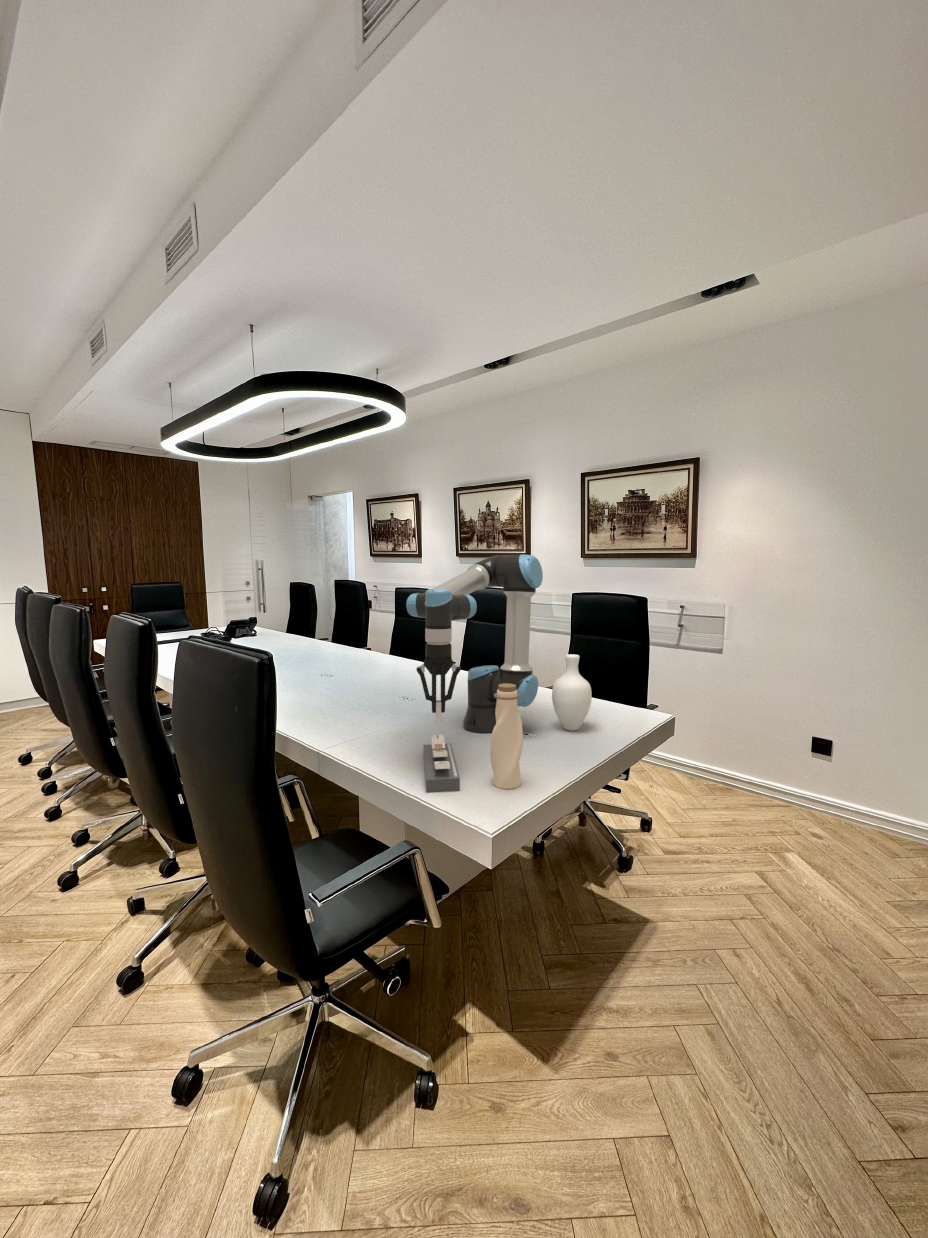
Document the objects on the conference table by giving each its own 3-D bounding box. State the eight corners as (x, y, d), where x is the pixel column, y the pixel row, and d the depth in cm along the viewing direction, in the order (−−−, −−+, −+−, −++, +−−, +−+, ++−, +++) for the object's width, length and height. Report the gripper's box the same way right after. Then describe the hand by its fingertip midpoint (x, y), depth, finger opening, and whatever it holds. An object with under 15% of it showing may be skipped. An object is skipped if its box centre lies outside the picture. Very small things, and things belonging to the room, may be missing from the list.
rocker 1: (443, 738, 167) (443, 734, 167) (445, 751, 161) (445, 747, 160) (431, 739, 167) (431, 735, 166) (432, 752, 160) (432, 748, 160)
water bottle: (487, 775, 152) (487, 681, 149) (518, 774, 153) (518, 680, 150) (492, 790, 142) (492, 689, 139) (525, 789, 143) (526, 688, 140)
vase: (585, 723, 202) (586, 651, 199) (595, 735, 187) (597, 658, 184) (548, 724, 201) (549, 652, 198) (555, 736, 187) (556, 658, 184)
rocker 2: (445, 754, 158) (445, 749, 158) (447, 756, 151) (447, 751, 152) (432, 755, 158) (432, 750, 158) (433, 757, 151) (433, 751, 151)
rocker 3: (448, 766, 149) (447, 760, 150) (450, 768, 142) (449, 762, 143) (434, 766, 149) (434, 761, 149) (435, 769, 142) (435, 763, 142)
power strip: (449, 745, 178) (448, 734, 178) (459, 790, 142) (459, 777, 141) (422, 746, 177) (422, 735, 177) (426, 792, 141) (426, 779, 140)
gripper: (459, 641, 154) (459, 719, 156) (415, 641, 152) (415, 720, 155) (462, 644, 146) (462, 726, 148) (415, 644, 145) (416, 727, 147)
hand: (438, 723), depth 151 cm, fingers closed
